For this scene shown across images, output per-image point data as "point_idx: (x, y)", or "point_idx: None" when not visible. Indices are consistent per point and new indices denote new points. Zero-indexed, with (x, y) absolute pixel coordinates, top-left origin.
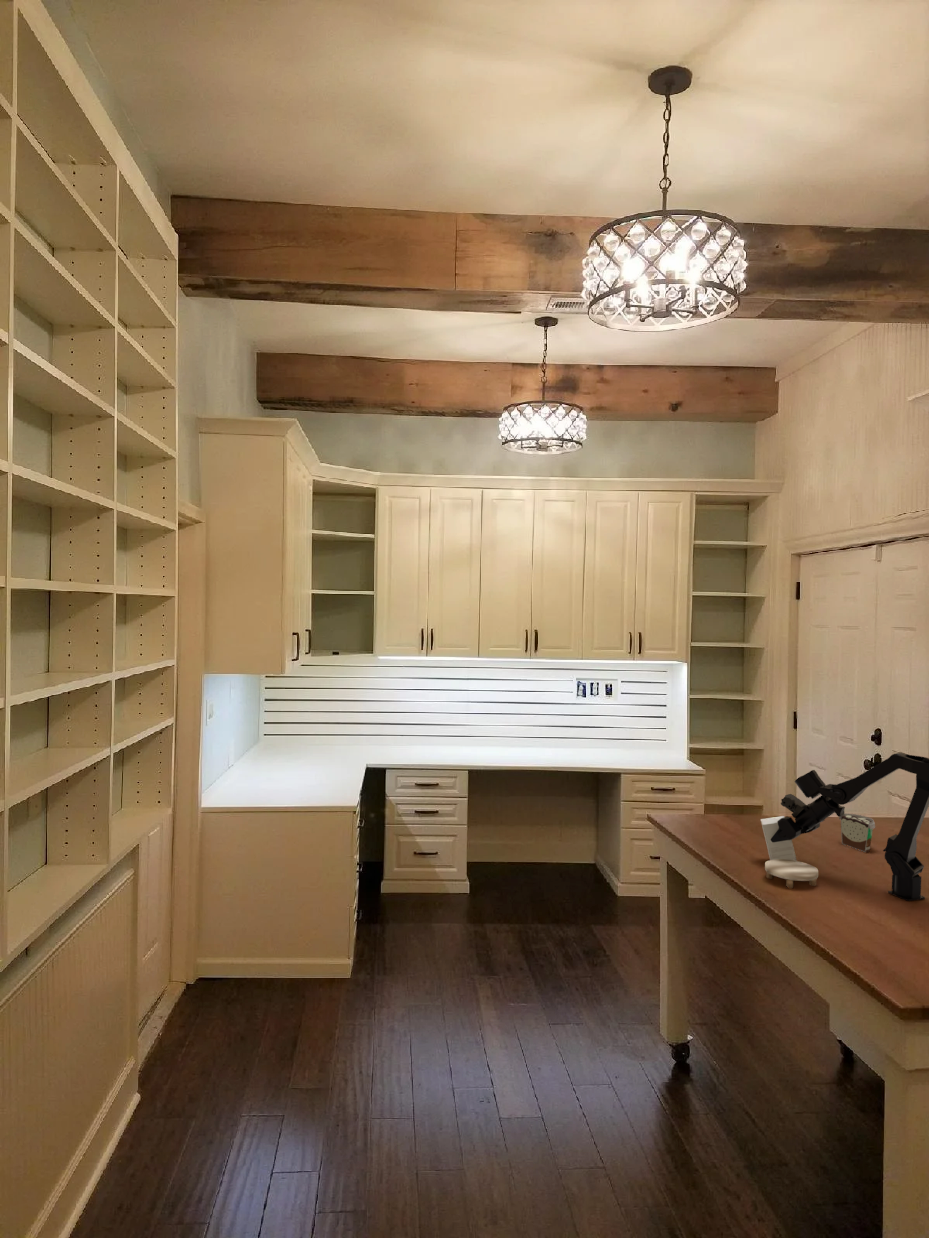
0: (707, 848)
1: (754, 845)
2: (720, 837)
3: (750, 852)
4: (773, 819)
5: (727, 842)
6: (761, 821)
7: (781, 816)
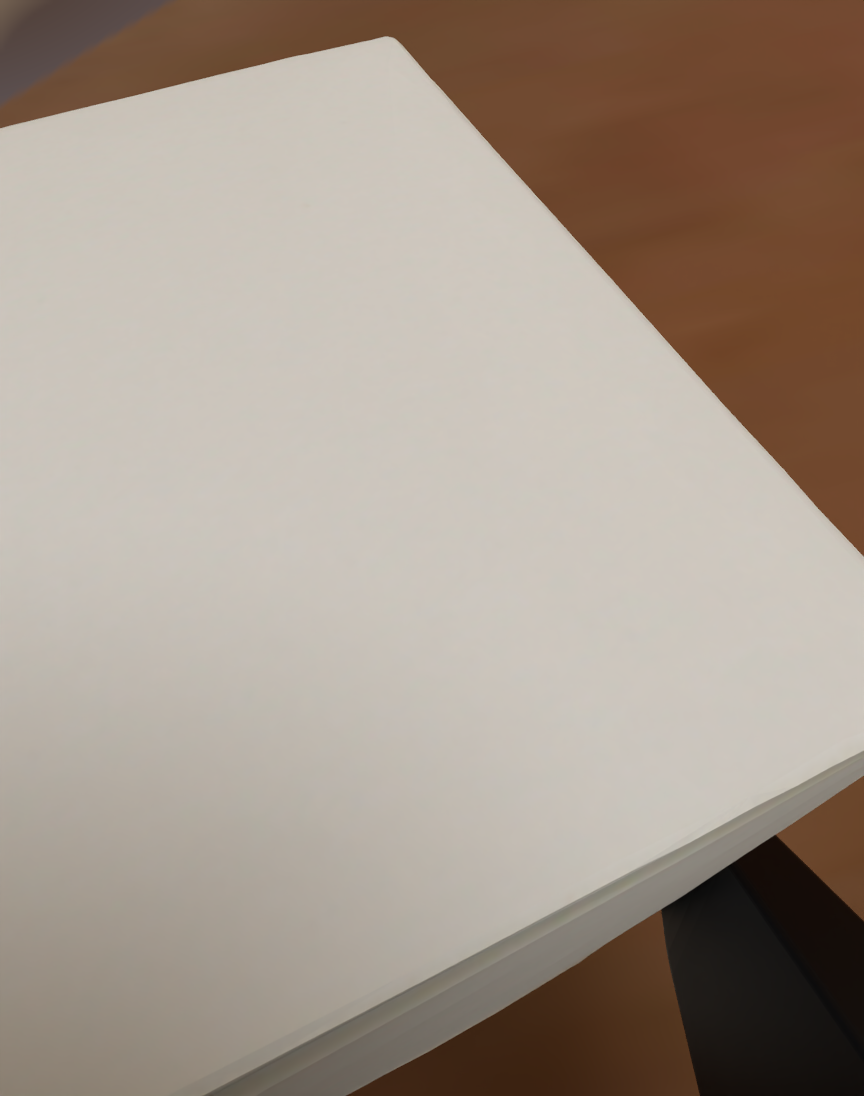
0: (320, 32)
1: (837, 333)
2: (801, 22)
3: None
4: (111, 403)
5: (692, 109)
6: (56, 118)
7: (737, 613)
